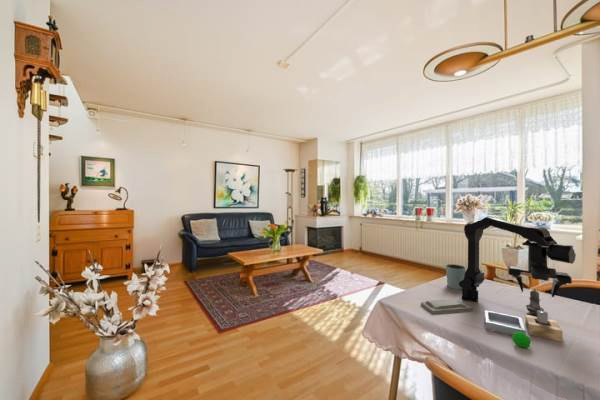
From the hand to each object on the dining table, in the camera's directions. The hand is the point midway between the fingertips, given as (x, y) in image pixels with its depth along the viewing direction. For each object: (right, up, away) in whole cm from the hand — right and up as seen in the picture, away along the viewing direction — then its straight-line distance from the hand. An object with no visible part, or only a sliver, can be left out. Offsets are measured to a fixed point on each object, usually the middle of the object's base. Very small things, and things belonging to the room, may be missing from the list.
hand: (537, 294), depth 103 cm
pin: (-5, -12, -7) cm, 15 cm away
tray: (-16, -13, -2) cm, 20 cm away
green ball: (-20, -13, -15) cm, 29 cm away
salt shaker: (+5, -12, +6) cm, 14 cm away
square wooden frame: (-4, -12, -7) cm, 15 cm away
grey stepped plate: (-29, -13, +15) cm, 36 cm away
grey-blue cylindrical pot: (-7, -12, +42) cm, 44 cm away
